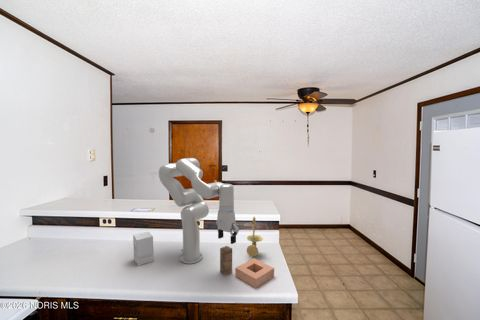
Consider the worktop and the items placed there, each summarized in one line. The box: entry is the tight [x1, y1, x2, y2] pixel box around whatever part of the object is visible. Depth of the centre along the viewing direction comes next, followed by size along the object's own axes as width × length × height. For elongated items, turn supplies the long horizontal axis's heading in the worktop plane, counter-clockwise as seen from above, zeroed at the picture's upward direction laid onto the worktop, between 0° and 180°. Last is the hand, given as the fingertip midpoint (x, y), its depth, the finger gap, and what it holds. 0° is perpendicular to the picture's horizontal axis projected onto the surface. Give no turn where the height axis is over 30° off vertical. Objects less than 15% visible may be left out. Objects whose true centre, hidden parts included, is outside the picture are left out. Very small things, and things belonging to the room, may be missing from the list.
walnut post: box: [219, 245, 233, 276], centre depth 126 cm, size 4×4×13 cm
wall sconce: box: [246, 216, 264, 259], centre depth 143 cm, size 14×10×25 cm
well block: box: [234, 258, 275, 289], centre depth 123 cm, size 14×14×4 cm
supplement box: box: [132, 231, 155, 267], centre depth 138 cm, size 9×9×15 cm
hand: (226, 240), depth 125 cm, fingers open, 9 cm apart
